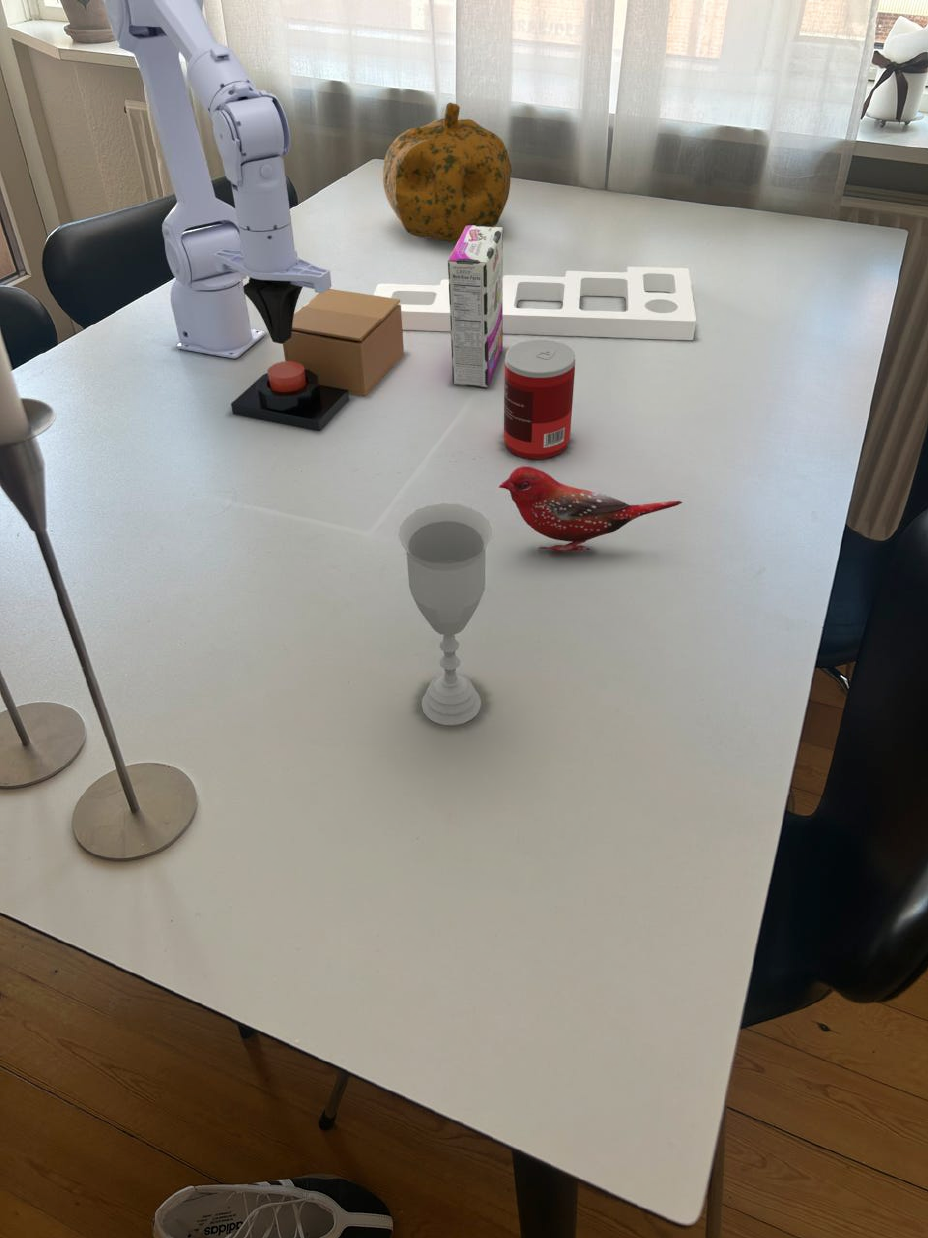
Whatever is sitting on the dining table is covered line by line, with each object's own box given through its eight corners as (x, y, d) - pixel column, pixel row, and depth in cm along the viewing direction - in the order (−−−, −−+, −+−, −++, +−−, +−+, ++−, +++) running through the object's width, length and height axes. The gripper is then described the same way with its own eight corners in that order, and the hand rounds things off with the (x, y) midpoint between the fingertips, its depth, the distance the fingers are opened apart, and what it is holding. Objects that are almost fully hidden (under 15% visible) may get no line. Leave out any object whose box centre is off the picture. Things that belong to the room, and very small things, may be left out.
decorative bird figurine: (497, 542, 98) (498, 458, 92) (672, 543, 98) (686, 459, 91) (497, 560, 96) (498, 475, 90) (676, 561, 96) (690, 476, 89)
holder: (368, 328, 135) (366, 309, 134) (389, 276, 149) (388, 259, 147) (693, 340, 131) (696, 321, 129) (686, 286, 144) (688, 268, 143)
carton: (330, 342, 132) (324, 287, 127) (404, 354, 129) (400, 299, 124) (288, 382, 124) (279, 325, 119) (365, 396, 121) (360, 338, 116)
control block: (232, 414, 118) (227, 388, 116) (265, 384, 124) (261, 359, 121) (319, 431, 115) (316, 405, 113) (349, 400, 120) (346, 374, 118)
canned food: (576, 430, 114) (583, 343, 107) (559, 465, 109) (565, 376, 101) (515, 420, 116) (517, 334, 109) (494, 454, 111) (495, 366, 103)
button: (263, 390, 116) (260, 374, 115) (281, 373, 119) (278, 358, 118) (295, 396, 115) (293, 380, 114) (312, 379, 118) (310, 363, 117)
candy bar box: (467, 346, 131) (465, 223, 120) (503, 349, 130) (505, 225, 119) (449, 386, 123) (446, 257, 112) (488, 389, 122) (488, 260, 111)
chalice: (409, 675, 84) (396, 505, 72) (486, 669, 85) (487, 500, 73) (413, 738, 79) (400, 566, 67) (495, 732, 79) (497, 560, 67)
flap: (324, 290, 127) (324, 287, 127) (400, 301, 124) (400, 299, 124) (304, 309, 123) (303, 306, 123) (381, 321, 120) (381, 318, 120)
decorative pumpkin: (393, 200, 171) (395, 76, 157) (510, 215, 170) (522, 91, 156) (369, 248, 157) (368, 116, 143) (496, 265, 156) (509, 133, 142)
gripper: (341, 220, 105) (352, 337, 114) (233, 200, 110) (252, 314, 119) (304, 242, 100) (319, 362, 109) (193, 220, 105) (216, 337, 114)
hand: (282, 339), depth 114 cm, fingers closed
